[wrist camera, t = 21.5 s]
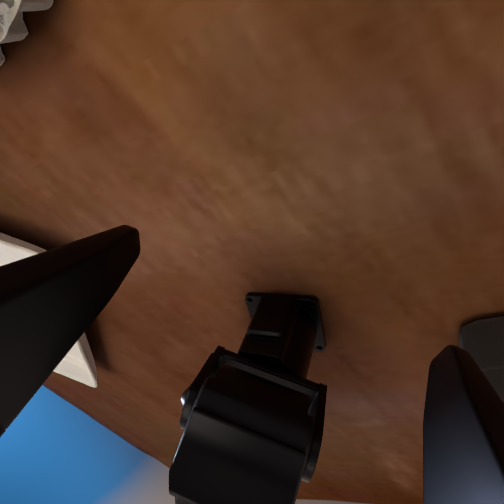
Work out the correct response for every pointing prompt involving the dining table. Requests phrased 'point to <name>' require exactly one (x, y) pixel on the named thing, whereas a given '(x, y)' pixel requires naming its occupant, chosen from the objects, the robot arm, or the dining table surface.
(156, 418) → the dining table surface
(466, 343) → the cash box
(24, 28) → the grey castle model
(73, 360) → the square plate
